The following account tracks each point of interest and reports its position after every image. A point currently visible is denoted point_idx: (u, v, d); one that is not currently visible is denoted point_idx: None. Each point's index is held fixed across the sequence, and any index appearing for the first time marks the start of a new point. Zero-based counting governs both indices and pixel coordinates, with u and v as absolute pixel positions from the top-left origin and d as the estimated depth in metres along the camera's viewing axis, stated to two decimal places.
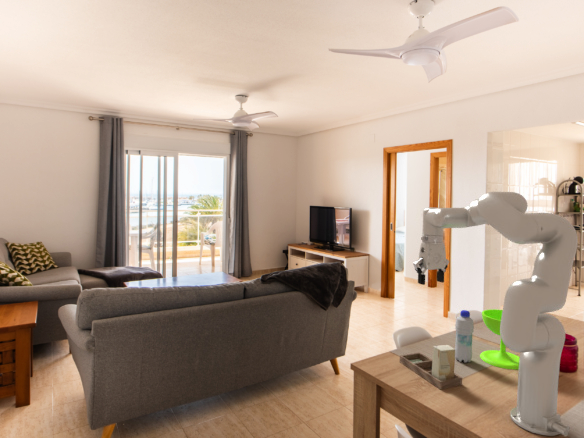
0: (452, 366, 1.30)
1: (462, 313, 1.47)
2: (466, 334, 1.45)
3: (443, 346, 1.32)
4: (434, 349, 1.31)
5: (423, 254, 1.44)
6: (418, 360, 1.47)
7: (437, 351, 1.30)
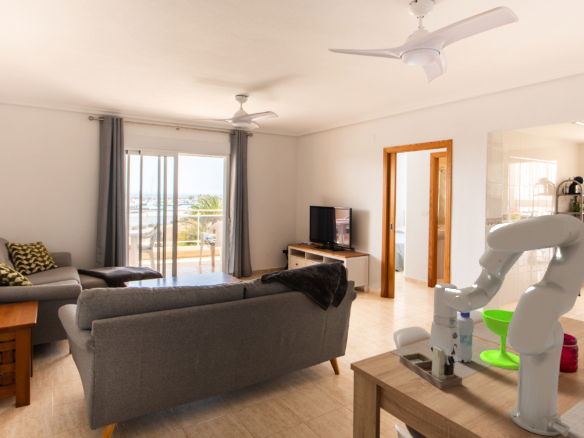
0: None
1: (462, 313, 1.47)
2: (466, 334, 1.45)
3: None
4: (434, 349, 1.31)
5: (456, 340, 1.26)
6: (418, 360, 1.47)
7: (437, 351, 1.30)
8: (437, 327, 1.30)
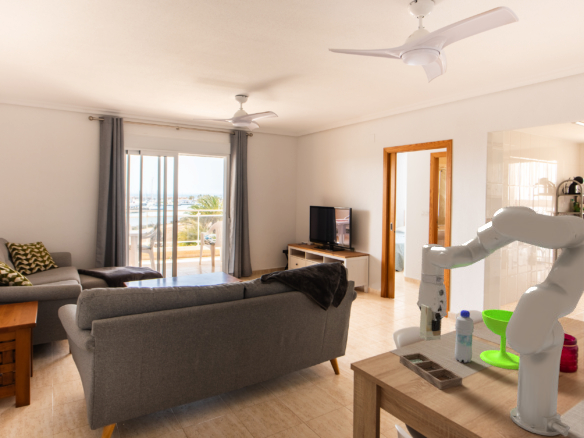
0: None
1: (462, 313, 1.47)
2: (466, 334, 1.45)
3: None
4: (422, 307, 1.37)
5: (443, 297, 1.32)
6: (418, 360, 1.47)
7: (424, 309, 1.35)
8: (424, 285, 1.36)
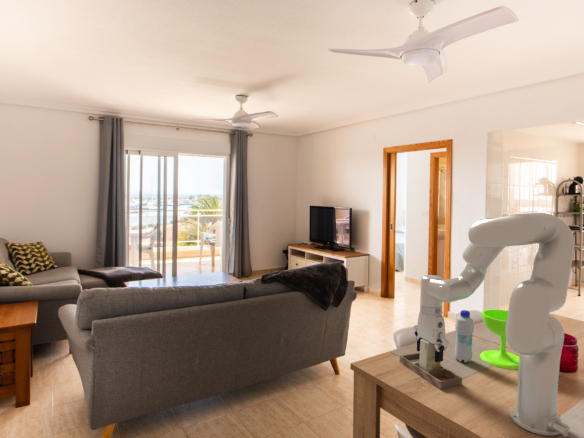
0: None
1: (462, 313, 1.47)
2: (466, 334, 1.45)
3: None
4: (421, 342, 1.37)
5: (441, 329, 1.33)
6: (418, 360, 1.47)
7: (424, 344, 1.36)
8: (423, 316, 1.37)
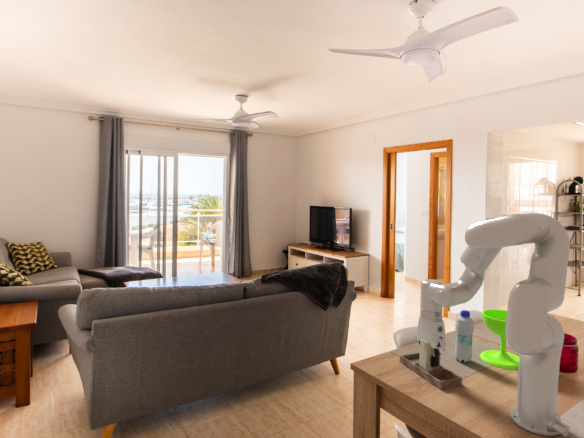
0: None
1: (462, 313, 1.47)
2: (466, 334, 1.45)
3: None
4: (421, 342, 1.37)
5: (442, 333, 1.33)
6: (418, 360, 1.47)
7: (424, 344, 1.36)
8: (423, 321, 1.37)
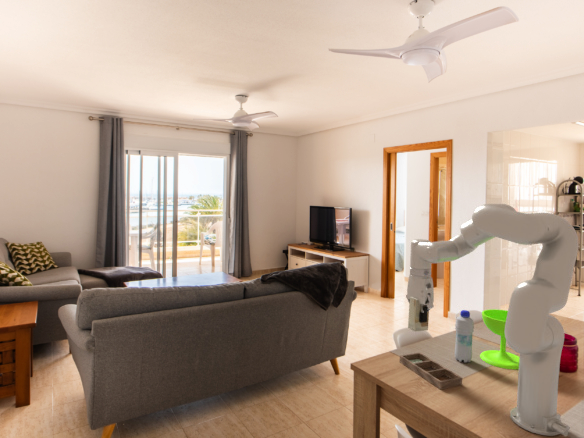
0: (427, 314, 1.42)
1: (462, 313, 1.47)
2: (466, 334, 1.45)
3: None
4: (410, 299, 1.43)
5: (430, 290, 1.38)
6: (418, 360, 1.47)
7: (413, 301, 1.41)
8: (413, 279, 1.42)
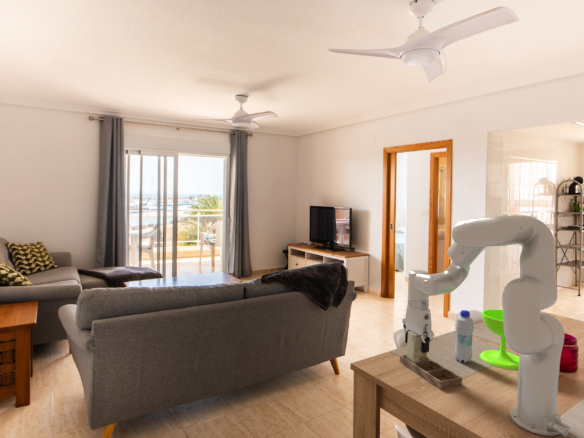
0: None
1: (462, 313, 1.47)
2: (466, 334, 1.45)
3: None
4: (409, 334, 1.44)
5: (428, 321, 1.39)
6: None
7: (411, 336, 1.43)
8: (411, 309, 1.43)
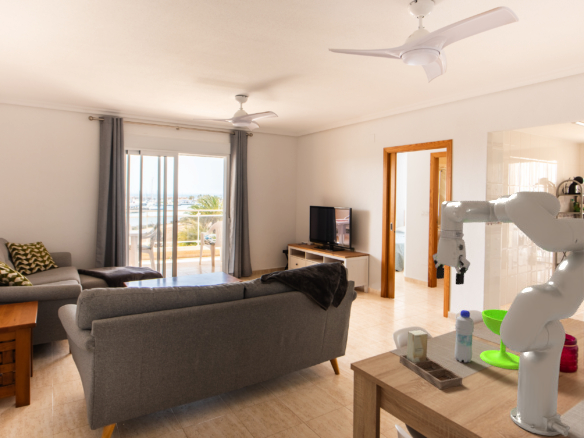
0: (425, 349, 1.43)
1: (462, 313, 1.47)
2: (466, 334, 1.45)
3: (417, 331, 1.45)
4: (409, 334, 1.44)
5: (462, 251, 1.34)
6: None
7: (411, 336, 1.43)
8: (444, 241, 1.38)
